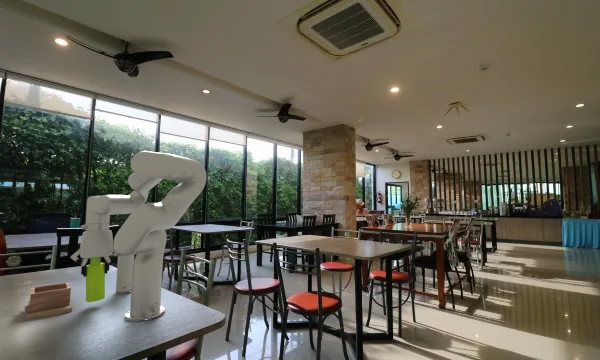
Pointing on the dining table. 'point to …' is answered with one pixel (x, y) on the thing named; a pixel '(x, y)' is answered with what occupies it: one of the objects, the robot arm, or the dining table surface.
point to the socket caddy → (49, 301)
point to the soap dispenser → (95, 280)
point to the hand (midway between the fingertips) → (95, 274)
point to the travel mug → (124, 274)
